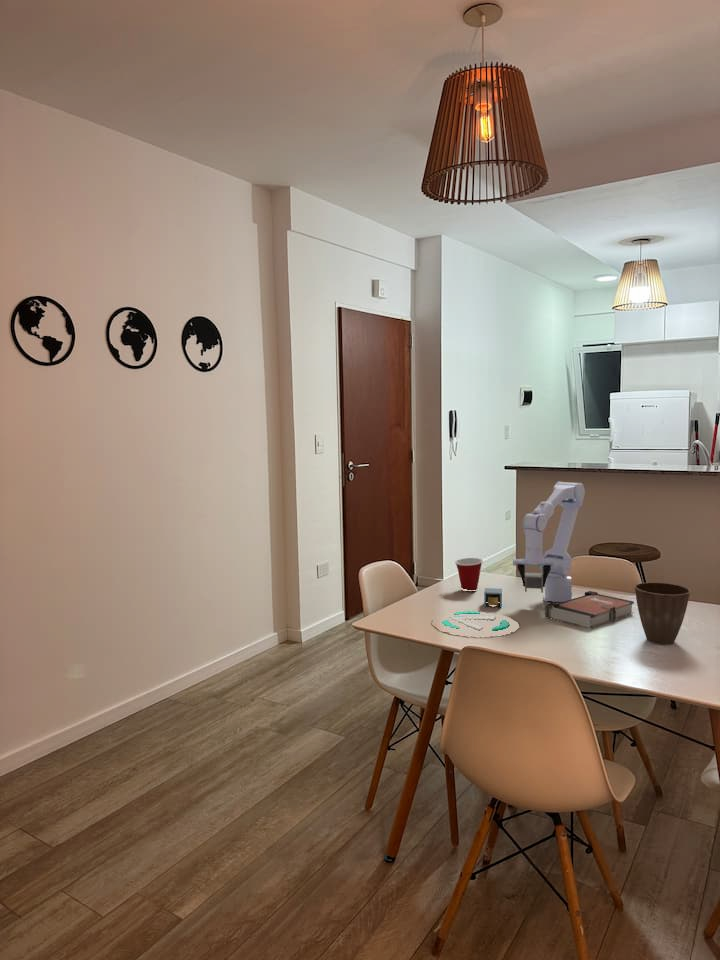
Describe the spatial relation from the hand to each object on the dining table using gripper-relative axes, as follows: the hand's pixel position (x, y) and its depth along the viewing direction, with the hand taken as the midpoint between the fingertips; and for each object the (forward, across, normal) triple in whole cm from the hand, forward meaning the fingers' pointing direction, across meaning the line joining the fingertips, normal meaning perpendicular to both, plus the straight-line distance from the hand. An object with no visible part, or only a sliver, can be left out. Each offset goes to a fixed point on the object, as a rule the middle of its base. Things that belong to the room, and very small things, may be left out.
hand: (533, 586), depth 238 cm
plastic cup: (+8, -24, +20) cm, 32 cm away
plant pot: (+8, +36, -30) cm, 48 cm away
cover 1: (+8, -14, 0) cm, 16 cm away
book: (+8, +18, -7) cm, 21 cm away
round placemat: (+8, -19, -23) cm, 31 cm away
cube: (+8, -14, 0) cm, 16 cm away
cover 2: (+2, 0, 0) cm, 2 cm away
